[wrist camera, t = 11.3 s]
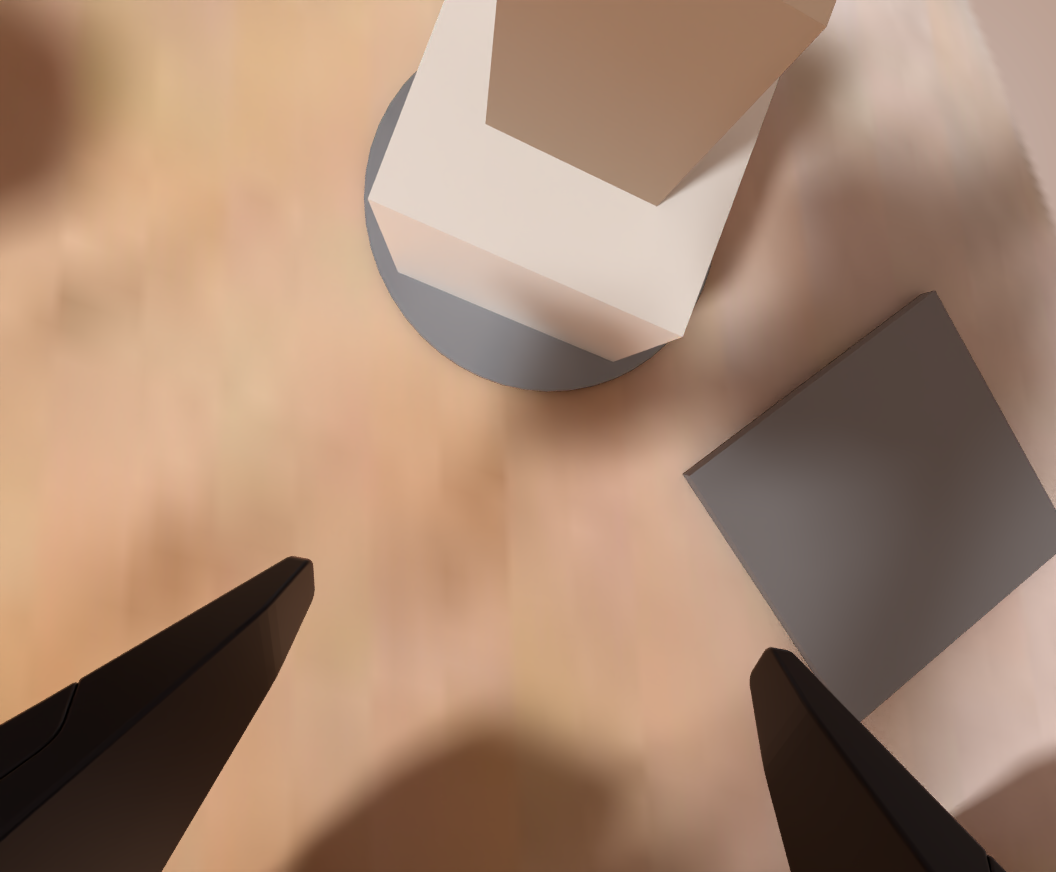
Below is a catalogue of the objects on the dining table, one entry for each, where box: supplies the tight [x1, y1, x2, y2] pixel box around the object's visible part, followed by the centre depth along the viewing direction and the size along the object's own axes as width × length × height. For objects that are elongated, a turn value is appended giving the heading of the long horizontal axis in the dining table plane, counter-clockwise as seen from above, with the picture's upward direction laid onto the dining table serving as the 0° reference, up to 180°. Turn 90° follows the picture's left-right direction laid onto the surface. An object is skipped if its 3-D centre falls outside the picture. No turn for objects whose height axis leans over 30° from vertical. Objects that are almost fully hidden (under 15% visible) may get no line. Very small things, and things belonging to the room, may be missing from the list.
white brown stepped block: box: [368, 0, 836, 362], centre depth 13 cm, size 9×9×12 cm
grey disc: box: [364, 71, 712, 392], centre depth 17 cm, size 14×14×4 cm
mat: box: [683, 291, 1056, 722], centre depth 21 cm, size 14×14×1 cm
